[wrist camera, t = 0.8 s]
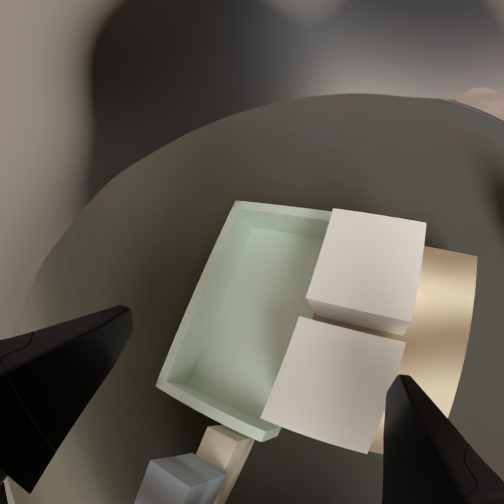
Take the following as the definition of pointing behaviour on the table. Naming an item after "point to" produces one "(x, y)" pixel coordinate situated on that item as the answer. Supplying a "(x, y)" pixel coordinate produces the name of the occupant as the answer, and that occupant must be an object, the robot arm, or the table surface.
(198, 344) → the tray
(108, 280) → the table surface
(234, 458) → the grey and tan block
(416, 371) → the tan tray
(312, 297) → the tile
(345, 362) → the tile
